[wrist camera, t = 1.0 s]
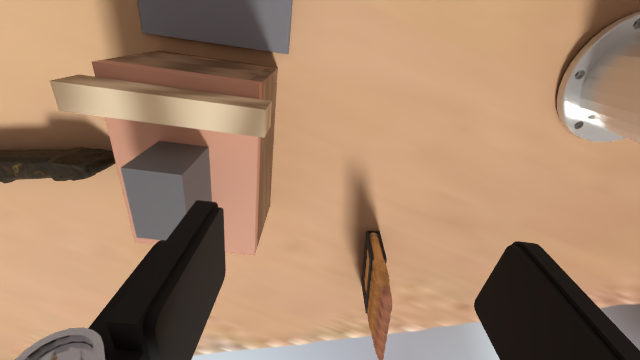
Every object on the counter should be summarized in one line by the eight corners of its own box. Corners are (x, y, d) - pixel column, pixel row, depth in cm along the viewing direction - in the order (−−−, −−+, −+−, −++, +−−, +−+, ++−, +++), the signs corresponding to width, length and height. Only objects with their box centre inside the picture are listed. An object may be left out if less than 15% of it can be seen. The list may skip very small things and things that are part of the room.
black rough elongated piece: (-14, 174, 36) (-57, 193, 32) (-34, 144, 34) (-82, 161, 30) (134, 174, 36) (110, 193, 32) (123, 144, 34) (96, 161, 30)
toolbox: (277, 67, 29) (262, 82, 22) (269, 205, 37) (257, 247, 30) (157, 50, 28) (103, 59, 21) (176, 194, 37) (141, 234, 30)
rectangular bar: (271, 101, 21) (265, 109, 19) (270, 126, 22) (264, 137, 20) (79, 74, 21) (49, 80, 18) (86, 102, 22) (59, 111, 19)
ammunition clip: (366, 230, 39) (381, 307, 28) (379, 230, 39) (400, 307, 28) (361, 285, 44) (373, 366, 34) (373, 285, 44) (388, 367, 34)
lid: (264, 79, 23) (241, 100, 17) (258, 241, 31) (242, 296, 25) (111, 58, 22) (27, 71, 16) (146, 228, 30) (100, 282, 24)
